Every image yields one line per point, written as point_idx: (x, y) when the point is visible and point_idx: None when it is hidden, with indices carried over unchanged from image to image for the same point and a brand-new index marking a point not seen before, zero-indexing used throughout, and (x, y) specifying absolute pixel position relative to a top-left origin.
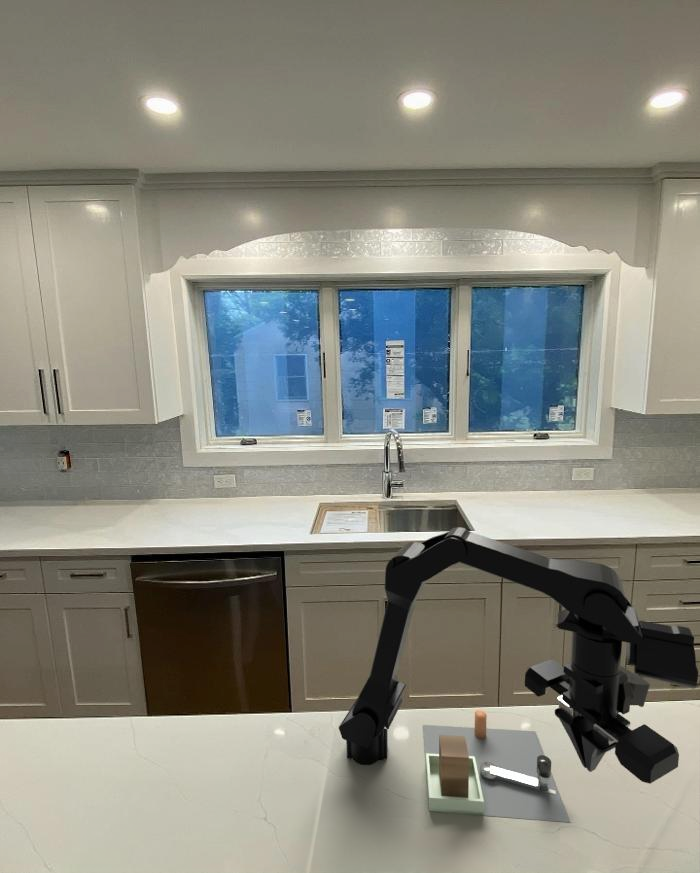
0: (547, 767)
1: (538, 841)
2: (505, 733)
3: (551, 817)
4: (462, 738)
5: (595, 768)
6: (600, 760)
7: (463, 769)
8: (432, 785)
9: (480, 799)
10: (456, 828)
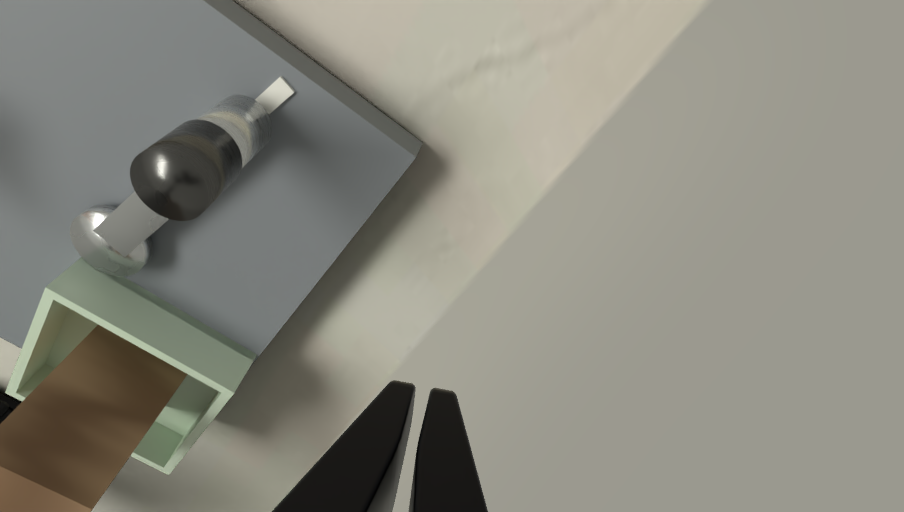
0: (210, 202)
1: (391, 258)
2: None
3: (363, 198)
4: None
5: (456, 399)
6: (477, 474)
7: (121, 467)
8: None
9: (223, 395)
10: (254, 388)
